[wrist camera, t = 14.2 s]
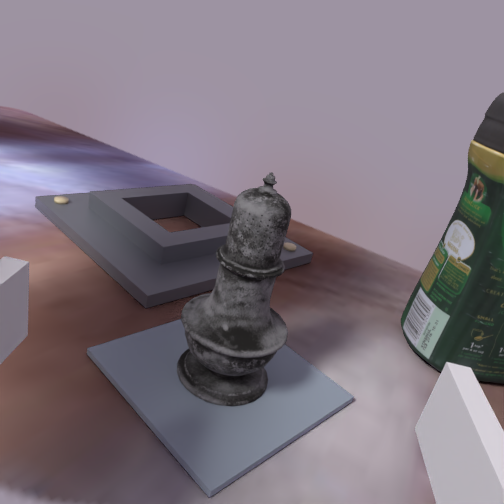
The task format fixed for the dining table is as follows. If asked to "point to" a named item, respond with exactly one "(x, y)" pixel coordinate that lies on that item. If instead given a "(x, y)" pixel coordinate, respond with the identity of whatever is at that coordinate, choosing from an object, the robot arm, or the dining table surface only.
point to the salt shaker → (239, 305)
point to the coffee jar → (467, 269)
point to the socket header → (152, 237)
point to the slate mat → (216, 416)
